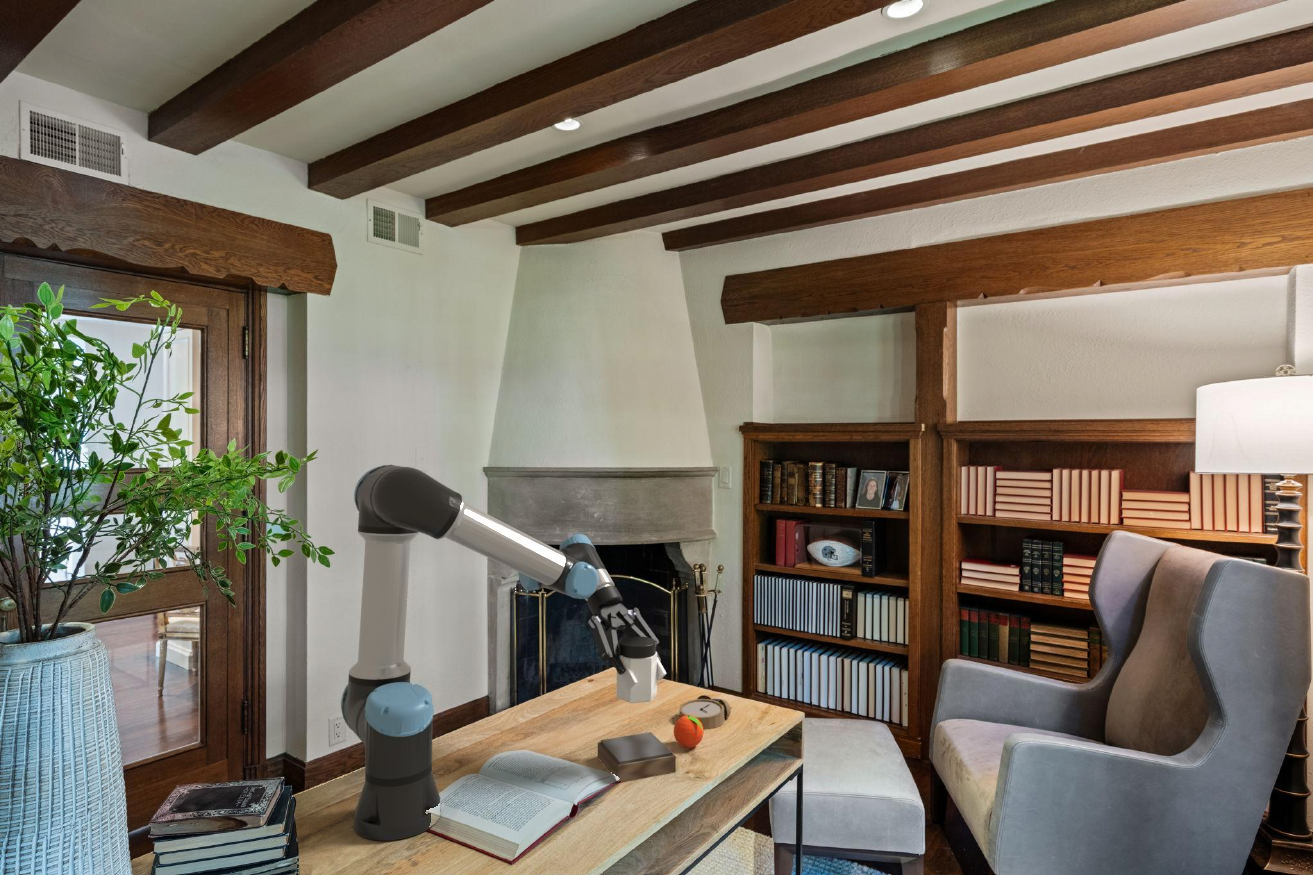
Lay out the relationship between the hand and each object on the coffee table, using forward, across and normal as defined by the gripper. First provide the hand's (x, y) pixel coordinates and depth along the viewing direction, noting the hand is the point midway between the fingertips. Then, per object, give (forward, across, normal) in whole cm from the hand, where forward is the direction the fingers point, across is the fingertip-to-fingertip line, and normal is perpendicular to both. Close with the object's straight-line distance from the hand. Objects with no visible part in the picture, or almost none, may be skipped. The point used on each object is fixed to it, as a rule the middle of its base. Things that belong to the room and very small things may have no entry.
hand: (648, 681), depth 158 cm
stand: (+11, 0, -16) cm, 19 cm away
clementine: (+12, -15, -15) cm, 24 cm away
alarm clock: (+6, -31, -22) cm, 38 cm away
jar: (+1, 0, -6) cm, 6 cm away
